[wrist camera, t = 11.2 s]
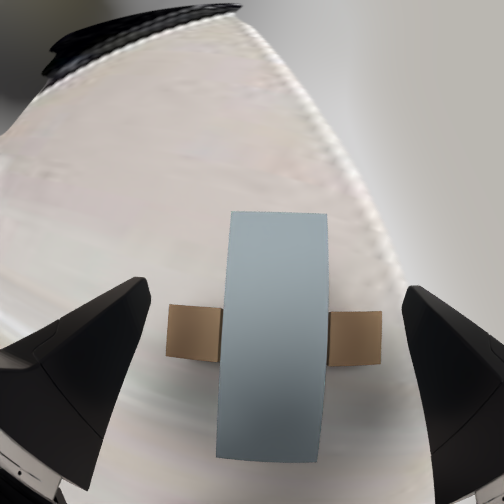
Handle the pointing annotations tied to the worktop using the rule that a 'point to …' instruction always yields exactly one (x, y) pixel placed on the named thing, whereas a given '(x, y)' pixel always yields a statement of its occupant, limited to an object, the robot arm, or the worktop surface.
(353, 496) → the worktop surface
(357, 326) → the tan stepped bar
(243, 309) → the grey slotted plate
